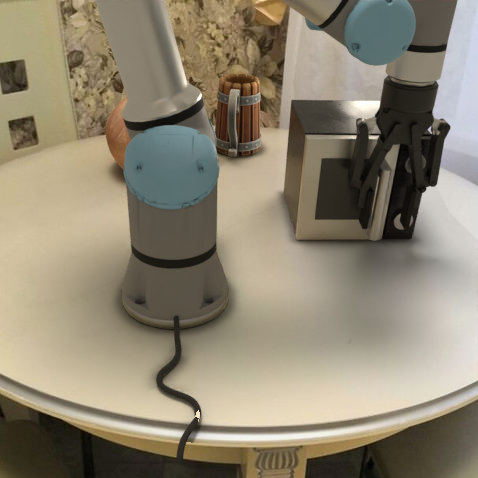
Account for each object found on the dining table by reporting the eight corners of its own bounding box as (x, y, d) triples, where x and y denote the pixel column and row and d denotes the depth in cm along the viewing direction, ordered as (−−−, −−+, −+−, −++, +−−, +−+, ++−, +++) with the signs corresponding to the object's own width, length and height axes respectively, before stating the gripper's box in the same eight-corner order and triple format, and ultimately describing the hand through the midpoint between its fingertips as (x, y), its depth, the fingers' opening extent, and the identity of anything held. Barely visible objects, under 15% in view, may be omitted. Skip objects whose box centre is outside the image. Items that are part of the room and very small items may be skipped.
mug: (217, 137, 141) (218, 69, 132) (263, 141, 140) (267, 73, 131) (204, 164, 128) (205, 91, 119) (255, 169, 127) (259, 96, 118)
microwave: (413, 241, 105) (436, 139, 94) (297, 242, 104) (307, 138, 93) (385, 193, 120) (403, 101, 109) (283, 193, 118) (291, 99, 108)
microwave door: (389, 255, 101) (411, 152, 90) (301, 256, 100) (312, 152, 89) (379, 234, 106) (398, 135, 96) (295, 235, 105) (305, 134, 95)
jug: (215, 178, 123) (216, 75, 111) (130, 196, 115) (122, 87, 104) (175, 146, 136) (172, 51, 124) (96, 160, 128) (85, 60, 116)
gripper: (468, 71, 90) (433, 213, 103) (339, 69, 88) (321, 213, 102) (488, 87, 83) (449, 236, 97) (350, 85, 82) (329, 236, 96)
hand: (383, 224), depth 99 cm, fingers open, 6 cm apart
